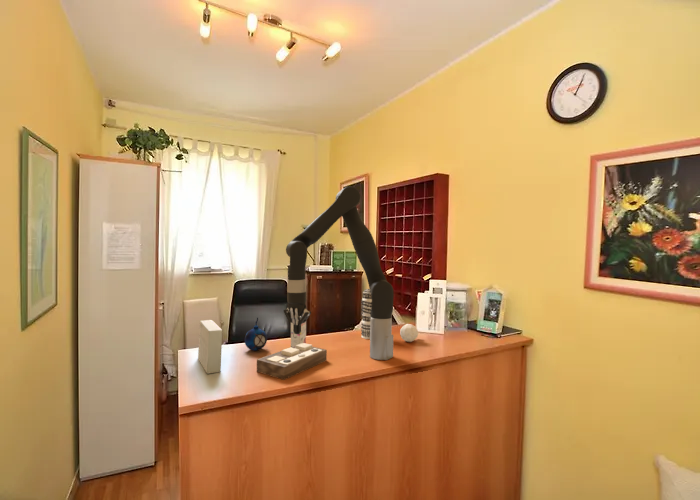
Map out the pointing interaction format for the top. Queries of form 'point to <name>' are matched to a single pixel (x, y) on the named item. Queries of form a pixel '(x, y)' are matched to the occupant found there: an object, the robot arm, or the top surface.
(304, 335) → the ink cartridge box
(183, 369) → the top surface
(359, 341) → the top surface
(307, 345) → the button right
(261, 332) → the bomb
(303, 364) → the button panel
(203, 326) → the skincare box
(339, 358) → the top surface
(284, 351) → the button middle
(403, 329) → the white rounded piece
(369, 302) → the decorative candle
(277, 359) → the button left
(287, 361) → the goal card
